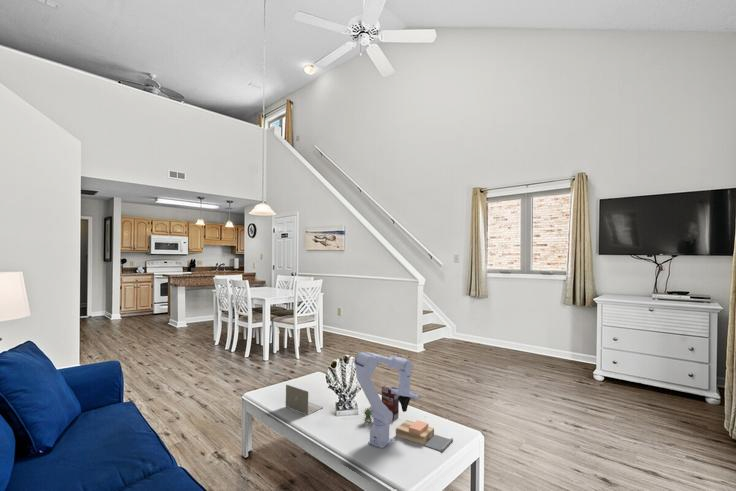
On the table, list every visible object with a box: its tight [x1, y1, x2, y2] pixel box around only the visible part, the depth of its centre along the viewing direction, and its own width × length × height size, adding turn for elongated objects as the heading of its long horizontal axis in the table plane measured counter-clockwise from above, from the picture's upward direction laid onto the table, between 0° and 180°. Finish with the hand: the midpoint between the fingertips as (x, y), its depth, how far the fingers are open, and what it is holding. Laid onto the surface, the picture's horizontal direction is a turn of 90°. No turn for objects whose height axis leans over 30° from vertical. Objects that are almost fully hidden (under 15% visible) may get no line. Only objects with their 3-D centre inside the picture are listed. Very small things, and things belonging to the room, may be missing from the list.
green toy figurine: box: [362, 407, 373, 424], centre depth 192 cm, size 12×12×8 cm
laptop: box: [285, 384, 324, 416], centre depth 210 cm, size 18×12×13 cm
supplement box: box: [381, 384, 400, 421], centre depth 199 cm, size 9×5×16 cm, turn 50°
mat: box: [423, 434, 454, 453], centre depth 172 cm, size 12×9×1 cm
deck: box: [395, 419, 435, 446], centre depth 179 cm, size 11×15×4 cm
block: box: [409, 419, 429, 435], centre depth 178 cm, size 9×6×2 cm, turn 145°
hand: (404, 410), depth 183 cm, fingers closed
